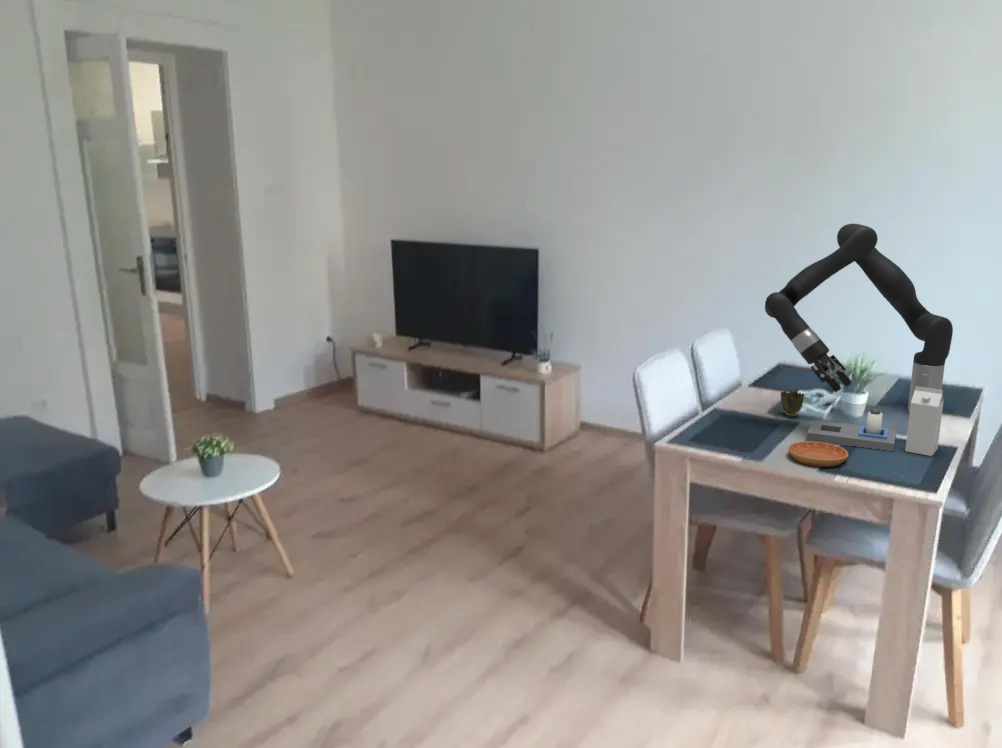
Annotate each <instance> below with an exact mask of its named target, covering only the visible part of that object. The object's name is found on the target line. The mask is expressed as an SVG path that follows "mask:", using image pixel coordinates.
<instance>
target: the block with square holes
mask: <svg viewBox="0 0 1002 748" xmlns="http://www.w3.org/2000/svg"><path fill="white" fill-rule="evenodd" d="M866 427H867V425H861V424H860V425H859V424H853V423H851V424H850V423H845V422H844V423H843V422H834V421H827V420H818V419H812V421H811V423H810V425H809V428H808V430H807V431H806V437H805V438H806V441H815V442H824V443H830V444H834V445H837V446H846V445H847V447H852V446H856V447H855V448H860V447H864V448H863V449H867V448H872V449H871V450H875V449H878V450H877V451H882V450H886V451H885V452H890V451H895V443H896V439H897V438H896V437H897V429H893V428H891V429H890V428H886V427H885V428H884V427H881V434H880V435H876V434H868V433H866ZM857 446H858V447H857ZM879 449H880V450H879Z"/></svg>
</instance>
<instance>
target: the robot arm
mask: <svg viewBox="0 0 1002 748" xmlns="http://www.w3.org/2000/svg"><path fill="white" fill-rule="evenodd" d="M836 236H837V237H836V241H837V245H838V247H839V248H837V249H836V250H835V251H833V252H832V253H831V254H828V255H827V256H825V257H824V258H821V259H819V260H817V261H815V262H813V263H812V264H809V265H808V266H806V267H805V268H803V269H802V270H800V271H799V272H798V273H796V275H794V276H793V277H792V278H791V279H790V280H789V281H788V282H787V283H786V285H785V286H784V287H783V288H782V289H780V290H779V292H772V293H770V294H768V296H767V297H766V298H765V299H766V300H765V302H764V311H765V313H766V314H767V316H769V317H770V318H772V319H775V320H776V321H777V323H778V324H779V325H780V327H781V331H782V332H783V334H784V335H786V337H787V338H788V339H789V341H790V342H791V343H792V345H793V346H794V348H795V349H796V351H797V352H798V353H799V355H800V356H801V357H802V358H803V359H804V360H805V362H806V363H807V364H808V365H811V366H810V368H811V370H812V371H813V374H814V375H816V376H817V378H818V379H819V381H820V382H821V383H826V384H827V385H829V387H830V388H831V389H832V391H833V392H834V393H837V392H839V391H840V390H841V389H842V386H841V385H840V384H839V382H837V380H836V379H835V378H834V376H833V375H835V376H836V377H837V378H838V379H839V380H840V382H841V383H842V384H843V385H844V386H845V387H848V386H850V385H851V384H852V382H853V381H852V380H851V378H849V376H848V375H847V374H846V373H845V372H846V370H847V369H846V367H845V366H844V364H842V363H841V362H840V361H839V359H838V358H837V357H836V356H835V354H832V355H831V356H829V355H828V353H829V352H830V349H829V348H828V346H827V345H826V344H825V343H824V341H823V340H822V339H821V338H820V336H819V335H818V334H817V332H815V331H814V330H813V329H812V328H811V327H810V325H809V324H808V323H807V321H805V319H803V317H801V315H800V314H799V312H798V311H797V309H796V308H795V306H796V305H798V303H799V302H800V301H801V300H802V299H804V298H805V297H807V296H808V295H809V294H811V293H812V292H813V291H814V290H815V289H817V287H819V286H820V285H822V283H824V282H826V280H828V279H829V278H831V277H832V276H834V275H835V274H836V273H838V272H839V271H842V270H843V269H844V268H846V267H848V266H849V265H851V264H852V263H854V262H855V263H856V264H857V265H858V266H859V268H860V270H862V271H863V272H864V274H865V275H866V277H867V279H869V281H870V282H871V283H872V284H873V286H874V287H875V288H876V289H877V291H878V292H879V293H880V295H882V297H883V298H884V299H885V300H886V301H887V302H888V303H889V304H890V306H892V308H893V309H894V310H895V311H896V312H897V313H898V314H899V315H900V317H901V318H902V320H903V321H904V322H905V324H906V325H907V327H908V329H909V330H910V332H911V333H912V335H913V336H914V337H915V338H917V340H920V341H922V342H924V344H923V349H922V351H918V352H916V353H914V355H913V363H912V371H911V377H910V385H909V386H910V388H909V398H908V405H907V412H908V413H909V414H910V406H911V400H912V397H913V394H914V391H915V386H917V387H924V388H931V389H938V390H943V388H942V387H943V382H944V374H945V373H944V372H945V366H946V361H947V358H948V357H949V354H950V351H951V350H950V349H951V346H952V345H951V344H952V341H953V332H954V328H953V323H952V321H951V320H950V318H949V319H948V318H947V317H946V316H945V317H944V316H942V315H938V314H934V313H932V312H931V311H929V310H928V309H927V308H926V307H925V306H924V305H923V304H922V303H921V302H920V301H919V299H918V297H917V296H918V295H917V292H916V288H915V284H914V282H912V280H911V279H910V278H909V276H908V275H907V274H906V273H905V272H904V270H903V269H902V268H901V267H900V266H899V265H897V264H896V263H895V262H894V261H892V260H891V259H889V258H888V257H886V256H885V255H884V254H883V253H881V251H879V250H878V249H877V248H876V246H877V244H878V234H877V232H876V231H875V229H874V228H872V227H870V226H867V225H864V224H859V223H848V224H847V223H846V224H844V225H842V227H840V228H839V230H838V232H837V235H836Z"/></svg>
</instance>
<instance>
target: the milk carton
mask: <svg viewBox="0 0 1002 748" xmlns="http://www.w3.org/2000/svg"><path fill="white" fill-rule="evenodd" d="M943 392H944V390H943V389H942V390H938V389H931V388H924V387H917V386H915V391H914V394H913V397H912V400H911V406H910V413H909V416H908V425H907V432H906V441H905V448H904V449H905V450H904V451H905V452H908V453H913V454H917V455H918V454H919V455H924V456H929V457H933V456H934V454H935V453H936V452H937V450H938V448H939V440H940V434H941V425H942V416H943V408H944V401H945V400H944V395H943Z"/></svg>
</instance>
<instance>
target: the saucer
mask: <svg viewBox="0 0 1002 748" xmlns="http://www.w3.org/2000/svg"><path fill="white" fill-rule="evenodd" d="M787 449H788V454H790V456H791V457H792V458H793V459H794V460H795V461H797V462H798V463H801V464H804V465H807V466H812V467H818V466H819V467H820V468H830V467H836V466H839V465H841V464H842V463H845V461H846V460H847V459H848V457H849V452H848V451H847V449H845V448H844V447H842V446H841V445H837V444H830V443H824V442H815V441H807V440H806V441H799V442H794V443H791V444H790V445H789V446H788V448H787Z"/></svg>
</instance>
